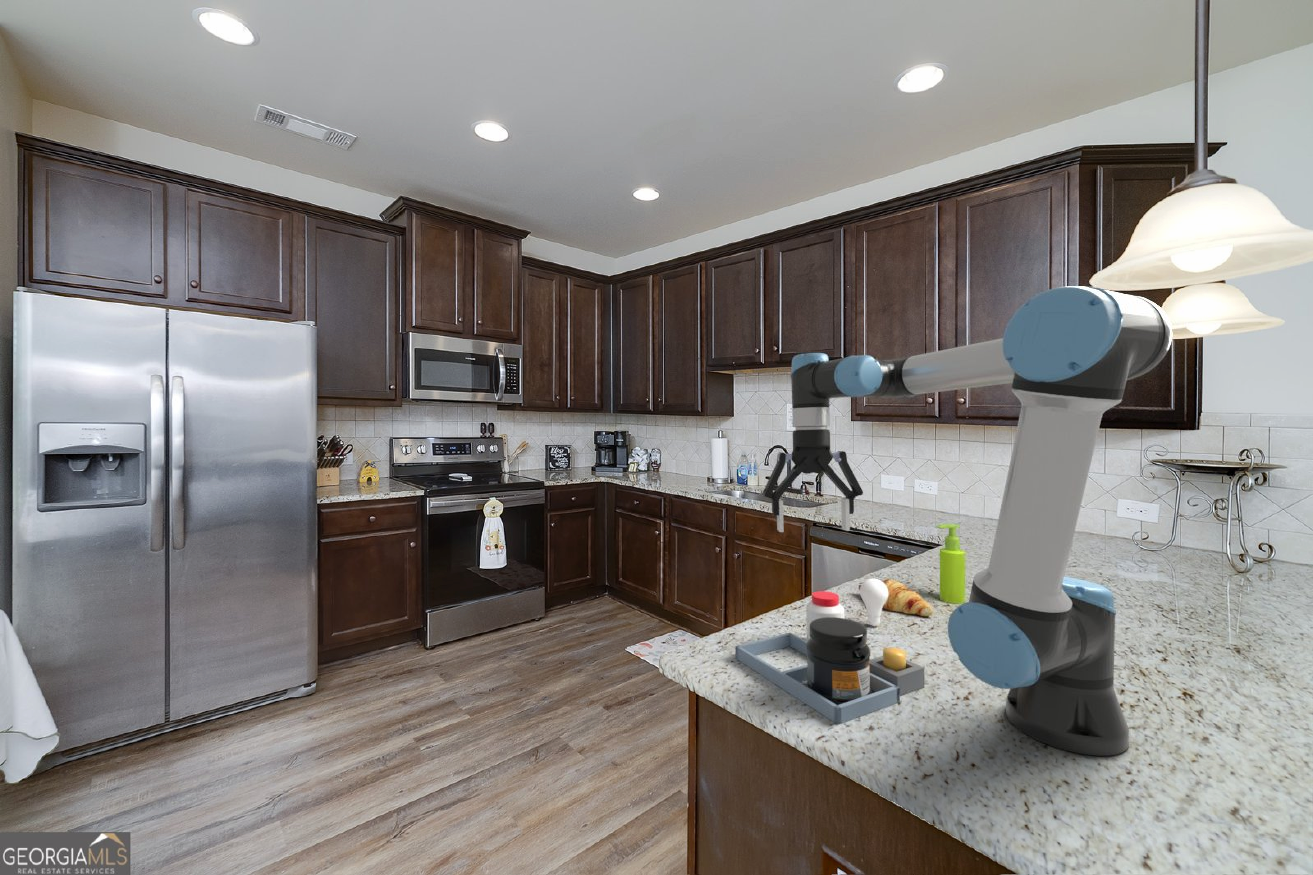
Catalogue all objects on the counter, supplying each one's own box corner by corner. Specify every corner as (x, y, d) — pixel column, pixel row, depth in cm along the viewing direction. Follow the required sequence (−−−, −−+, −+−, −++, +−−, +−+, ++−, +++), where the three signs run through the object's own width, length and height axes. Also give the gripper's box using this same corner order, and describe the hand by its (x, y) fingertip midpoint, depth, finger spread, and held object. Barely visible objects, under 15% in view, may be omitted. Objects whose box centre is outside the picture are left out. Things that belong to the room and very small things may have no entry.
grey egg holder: (924, 687, 97) (924, 667, 97) (897, 696, 94) (897, 676, 94) (891, 671, 103) (891, 653, 103) (865, 679, 100) (865, 661, 100)
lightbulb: (875, 620, 130) (875, 574, 129) (894, 629, 124) (894, 581, 124) (854, 623, 128) (854, 576, 127) (872, 632, 122) (872, 584, 122)
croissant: (939, 631, 132) (949, 599, 133) (917, 619, 127) (928, 586, 128) (865, 604, 150) (874, 577, 151) (843, 593, 145) (853, 565, 147)
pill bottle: (847, 655, 110) (847, 602, 110) (807, 653, 112) (807, 600, 112) (842, 640, 118) (841, 590, 118) (805, 638, 120) (804, 588, 119)
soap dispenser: (931, 597, 146) (931, 522, 145) (955, 596, 146) (955, 522, 146) (945, 604, 140) (945, 527, 139) (970, 603, 141) (970, 526, 140)
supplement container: (880, 710, 90) (880, 638, 89) (815, 710, 90) (815, 638, 89) (857, 680, 100) (857, 615, 100) (800, 680, 100) (799, 615, 100)
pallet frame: (899, 702, 92) (899, 687, 92) (837, 724, 86) (837, 708, 85) (790, 644, 116) (790, 632, 116) (735, 658, 110) (735, 646, 110)
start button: (910, 672, 98) (910, 653, 98) (896, 677, 96) (896, 658, 96) (892, 664, 101) (892, 645, 101) (878, 668, 99) (878, 650, 99)
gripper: (864, 427, 117) (866, 526, 117) (748, 430, 117) (750, 528, 118) (878, 427, 110) (880, 532, 110) (754, 430, 110) (756, 534, 110)
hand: (813, 530), depth 114 cm, fingers open, 13 cm apart
